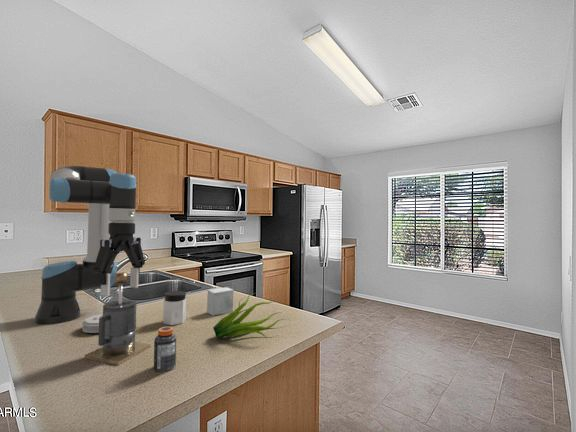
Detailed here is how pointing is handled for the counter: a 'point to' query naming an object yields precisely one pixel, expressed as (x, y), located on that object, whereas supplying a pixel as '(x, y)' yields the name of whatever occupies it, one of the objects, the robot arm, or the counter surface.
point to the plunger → (120, 283)
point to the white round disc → (91, 324)
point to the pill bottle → (165, 350)
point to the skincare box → (220, 301)
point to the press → (117, 334)
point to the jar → (174, 308)
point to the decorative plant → (236, 327)
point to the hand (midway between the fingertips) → (120, 291)
